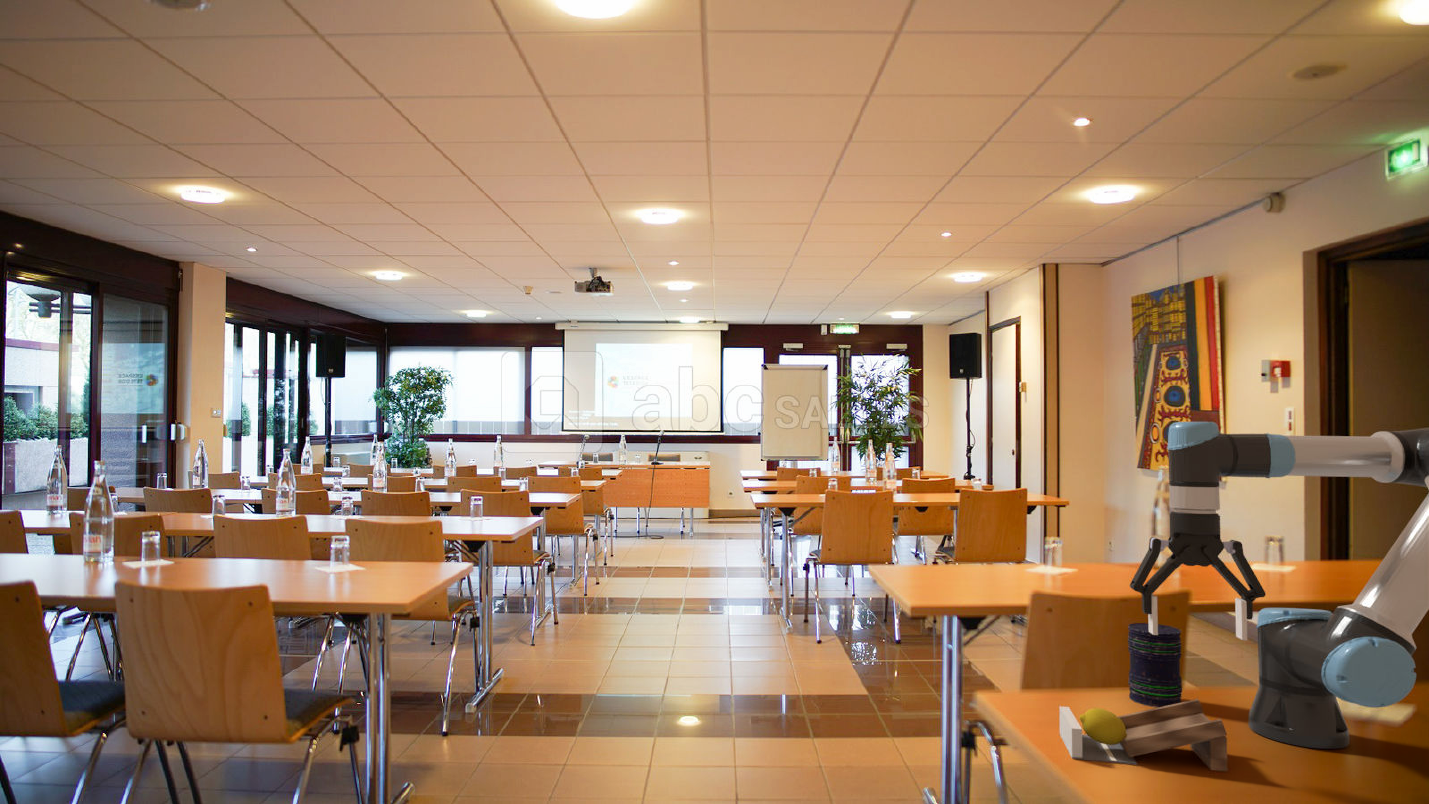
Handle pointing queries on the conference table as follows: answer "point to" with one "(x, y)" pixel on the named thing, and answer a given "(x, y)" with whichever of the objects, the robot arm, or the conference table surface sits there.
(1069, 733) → the rail
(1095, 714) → the lemon
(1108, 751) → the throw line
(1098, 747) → the lane mat
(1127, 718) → the ramp
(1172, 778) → the conference table surface
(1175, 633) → the dark blue upright cylinder
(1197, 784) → the conference table surface
